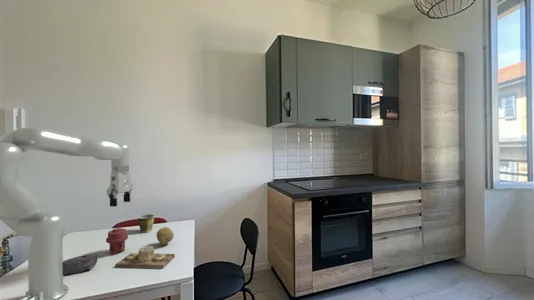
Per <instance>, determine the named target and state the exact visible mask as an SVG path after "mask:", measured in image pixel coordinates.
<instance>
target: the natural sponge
mask: <svg viewBox="0 0 534 300" xmlns="http://www.w3.org/2000/svg"><path fill="white" fill-rule="evenodd" d="M155 237H156V239H157V241H158V243H159V245H162V246H165V245H167V244H168V243H170V242H171V241H172V240H173V239H174V232H173V230H172V229H171V228H170V227H166V226H164V227H161V228H159V229H158V230H157V232H156V236H155Z"/></svg>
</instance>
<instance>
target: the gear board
mask: <svg viewBox="0 0 534 300" xmlns="http://www.w3.org/2000/svg"><path fill="white" fill-rule="evenodd" d="M145 250H148V248H145ZM175 257H176V255H175V254H174V253H154V259H153V260H150V261H148V262H147V261H146V262H141V261H139V253H138V252H131V253H129V254H128V255H126V256H125V257H123V258H122V259H121V260H119V261H118V262H116V263H115V268H124V269H126V268H130V269H132V268H133V269H161V270H162V269H164V268H165V267H167V266H168V265H169V263H171V262H172V260H173V259H174V258H175Z"/></svg>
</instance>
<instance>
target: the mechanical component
mask: <svg viewBox="0 0 534 300" xmlns="http://www.w3.org/2000/svg"><path fill="white" fill-rule="evenodd" d="M128 239H129V235H128V234H127V229H125V228H121V227H117V228H113V229H111V230H109V231H108V232H107V237H106V239H105V243H108V244H109V252H111V255H116V254H119V253H123V252H125V250H126V249H125V248H126V241H127V240H128Z"/></svg>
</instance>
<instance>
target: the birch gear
mask: <svg viewBox="0 0 534 300" xmlns="http://www.w3.org/2000/svg"><path fill="white" fill-rule="evenodd" d="M145 248H148V250H145ZM137 253H139V261H141V262H146V261H147V262H148V261H150V260H153V259H154V254H155V246H152V245H149V246H148V245H147V246H143V247H140V248H139V249H138V251H137Z"/></svg>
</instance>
